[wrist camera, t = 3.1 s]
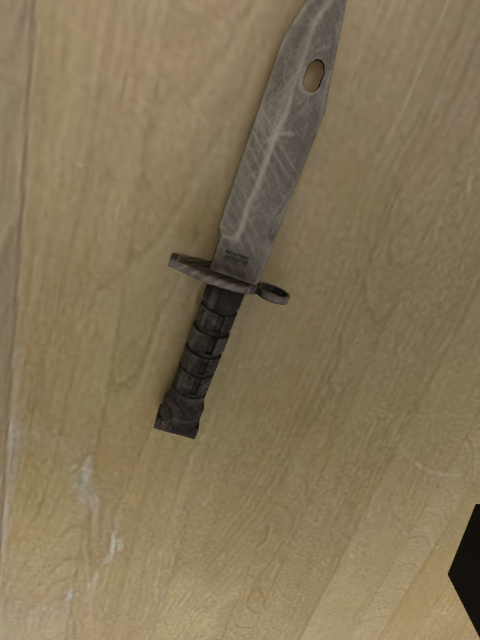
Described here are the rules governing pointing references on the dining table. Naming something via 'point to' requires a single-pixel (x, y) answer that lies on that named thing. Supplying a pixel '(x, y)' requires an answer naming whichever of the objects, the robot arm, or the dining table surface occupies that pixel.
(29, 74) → the dining table surface
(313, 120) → the knife
